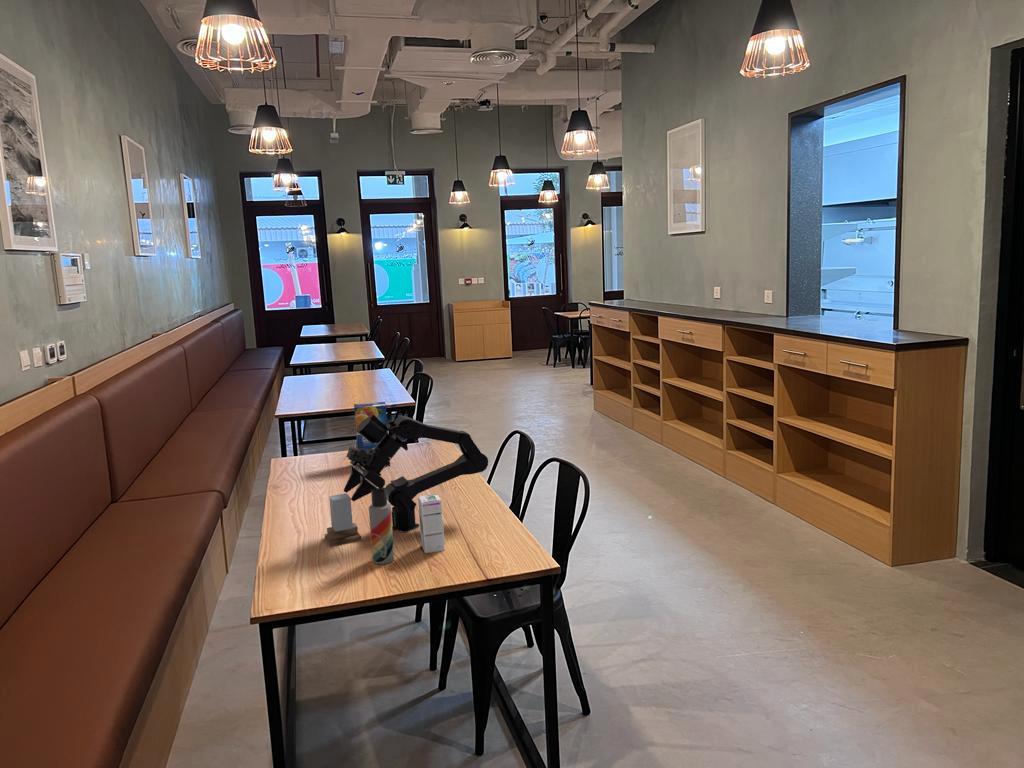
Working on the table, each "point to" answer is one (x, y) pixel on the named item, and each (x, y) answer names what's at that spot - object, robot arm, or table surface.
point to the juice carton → (361, 414)
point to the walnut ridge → (342, 536)
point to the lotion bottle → (381, 527)
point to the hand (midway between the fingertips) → (348, 496)
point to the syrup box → (431, 523)
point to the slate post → (341, 512)
